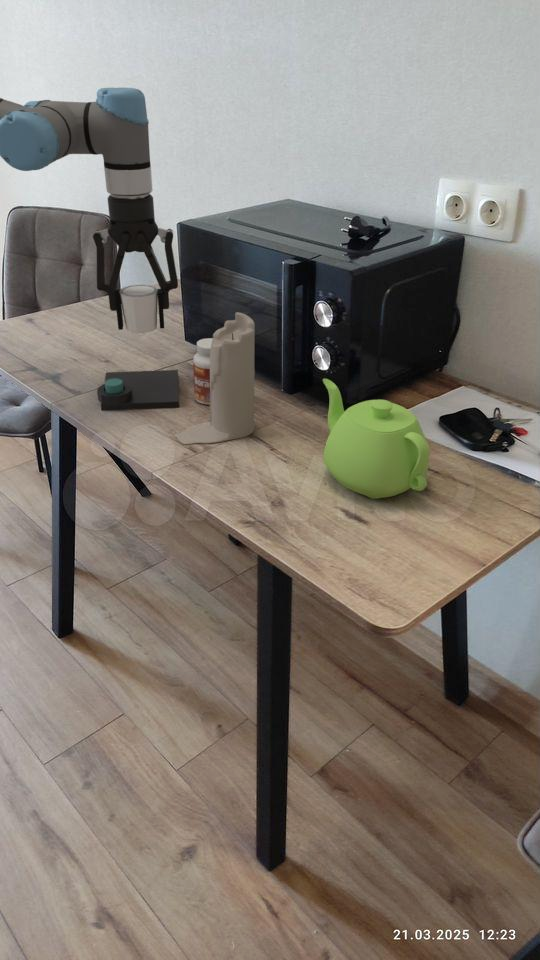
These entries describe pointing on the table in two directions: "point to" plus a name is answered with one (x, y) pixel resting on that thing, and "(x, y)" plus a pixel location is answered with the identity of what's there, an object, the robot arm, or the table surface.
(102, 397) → the scale
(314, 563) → the table surface
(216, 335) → the candle
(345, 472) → the teapot
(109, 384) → the button
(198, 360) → the pill bottle
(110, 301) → the robot arm
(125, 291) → the white cup
